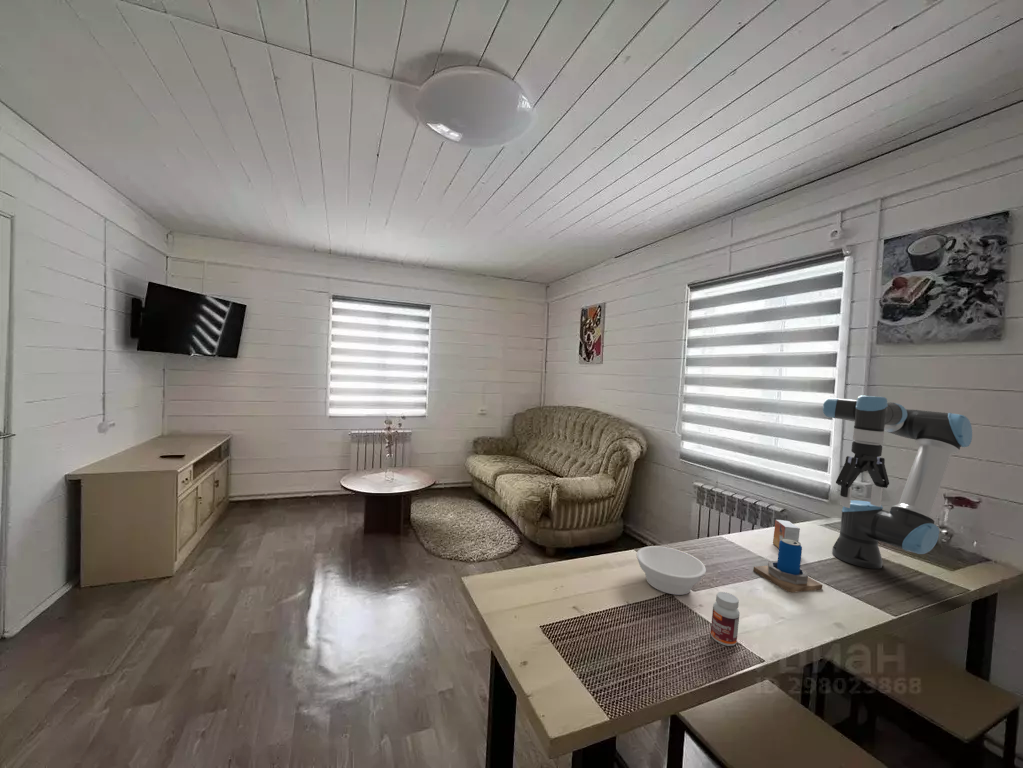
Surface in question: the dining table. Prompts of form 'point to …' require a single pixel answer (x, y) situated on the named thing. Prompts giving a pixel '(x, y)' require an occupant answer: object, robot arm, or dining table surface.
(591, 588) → the dining table surface
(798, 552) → the beverage can
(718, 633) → the pill bottle
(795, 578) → the socket
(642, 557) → the bowl
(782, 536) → the small box
